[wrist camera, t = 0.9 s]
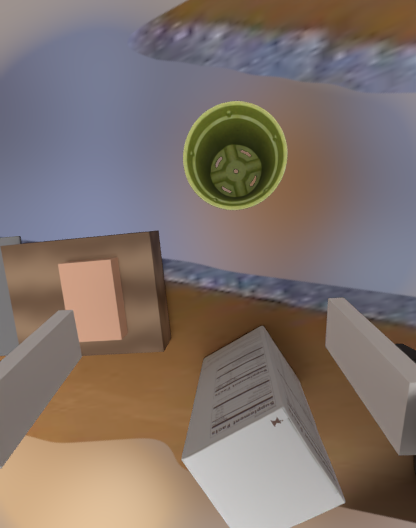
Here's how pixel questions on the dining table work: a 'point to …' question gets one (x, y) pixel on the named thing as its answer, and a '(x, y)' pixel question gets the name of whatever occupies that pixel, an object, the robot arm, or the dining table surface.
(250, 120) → the plant pot
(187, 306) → the dining table surface
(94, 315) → the tile
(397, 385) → the robot arm
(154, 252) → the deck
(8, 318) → the mat
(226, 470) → the supplement box
